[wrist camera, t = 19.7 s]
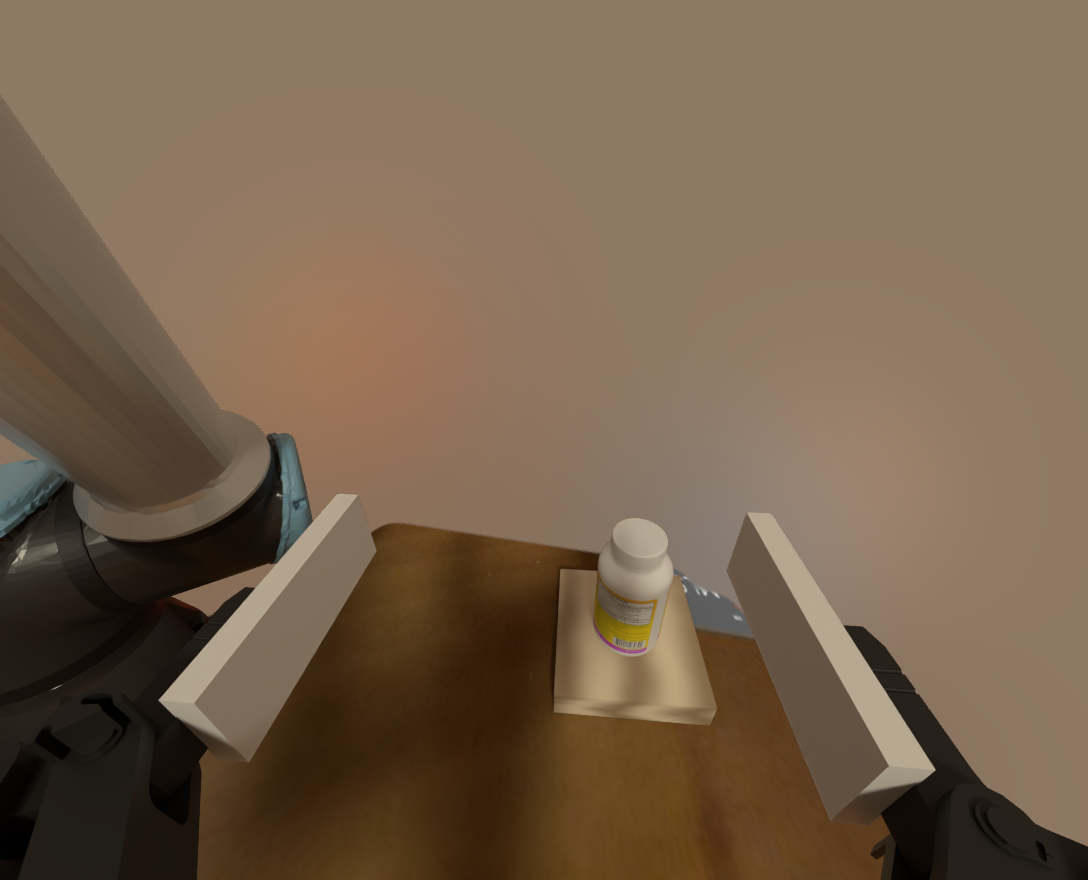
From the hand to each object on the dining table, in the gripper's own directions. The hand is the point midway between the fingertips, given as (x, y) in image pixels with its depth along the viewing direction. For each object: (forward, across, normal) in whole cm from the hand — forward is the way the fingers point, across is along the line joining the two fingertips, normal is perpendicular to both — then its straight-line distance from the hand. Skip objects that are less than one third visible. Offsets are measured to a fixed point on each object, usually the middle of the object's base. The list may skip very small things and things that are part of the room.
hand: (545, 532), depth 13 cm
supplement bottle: (+15, +7, -27) cm, 32 cm away
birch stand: (+15, +7, -30) cm, 34 cm away
